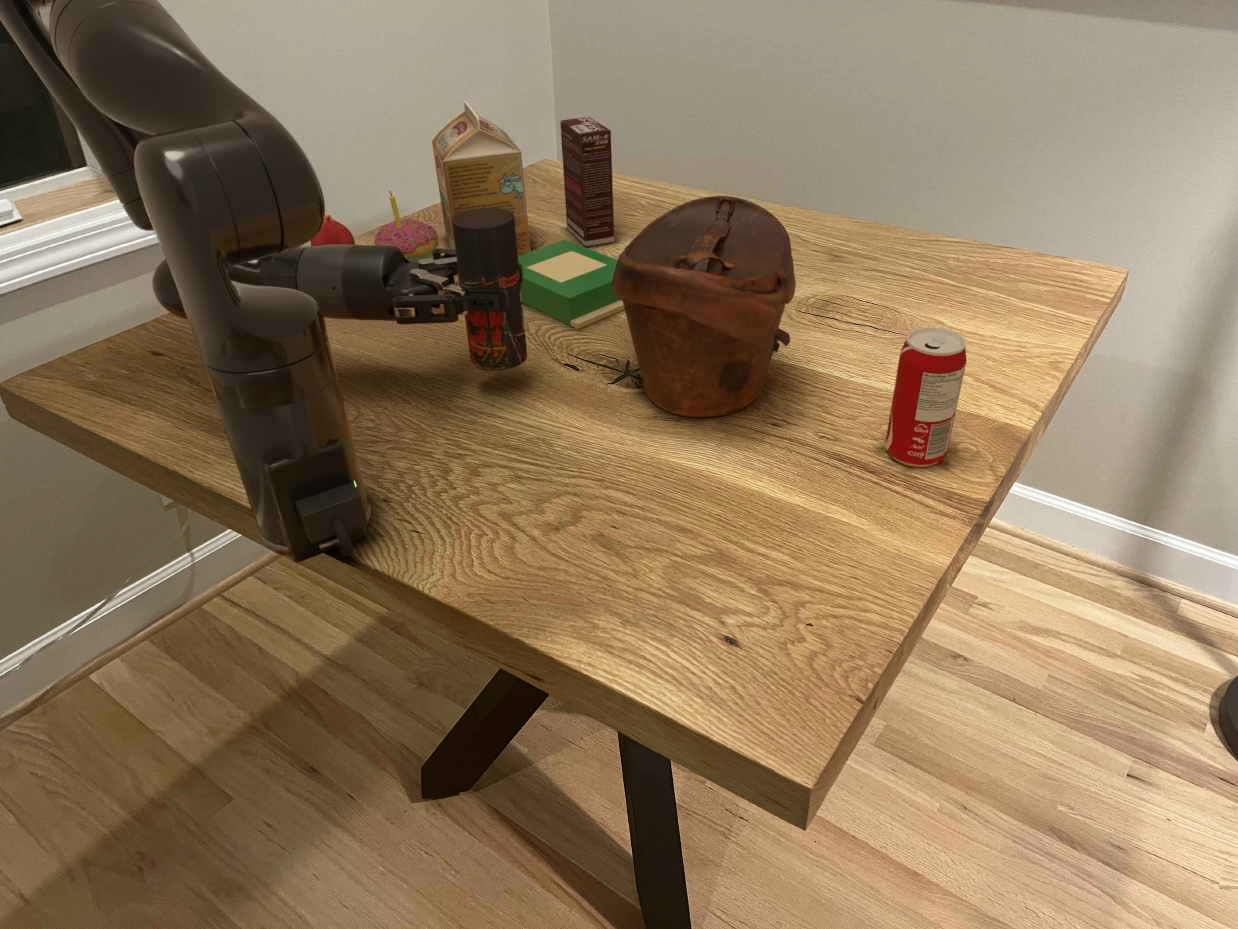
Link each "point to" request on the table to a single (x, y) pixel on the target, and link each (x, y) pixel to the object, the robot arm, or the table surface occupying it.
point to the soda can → (925, 396)
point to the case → (706, 303)
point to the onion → (332, 234)
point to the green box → (569, 283)
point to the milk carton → (480, 172)
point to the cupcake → (408, 236)
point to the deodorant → (491, 286)
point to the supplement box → (588, 180)
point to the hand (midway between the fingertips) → (514, 286)
